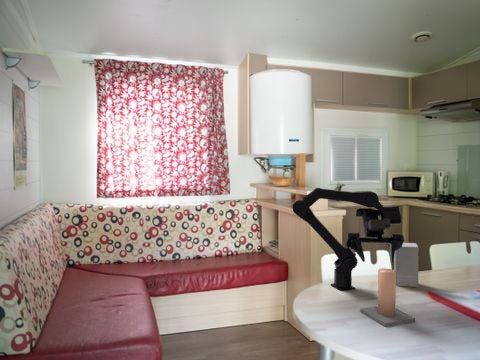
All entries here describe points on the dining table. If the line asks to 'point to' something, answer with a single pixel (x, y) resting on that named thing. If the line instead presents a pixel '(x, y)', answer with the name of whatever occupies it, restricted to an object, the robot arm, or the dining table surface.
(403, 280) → the skincare box
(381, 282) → the terracotta cylinder
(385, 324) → the mat
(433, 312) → the dining table surface
